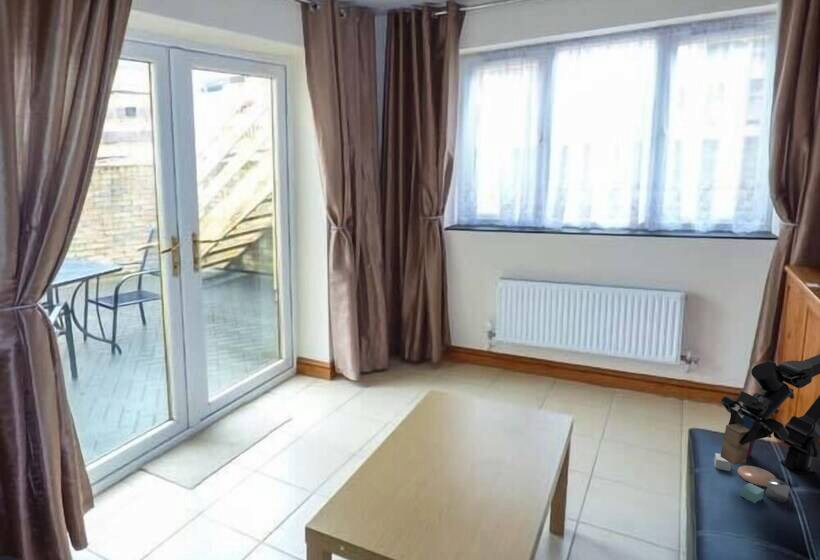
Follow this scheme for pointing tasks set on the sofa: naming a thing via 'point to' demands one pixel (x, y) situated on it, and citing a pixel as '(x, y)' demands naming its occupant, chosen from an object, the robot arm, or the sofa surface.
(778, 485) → the metal bowl
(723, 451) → the walnut block
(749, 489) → the teal block
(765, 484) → the coaster
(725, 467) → the grey block
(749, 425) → the cup
